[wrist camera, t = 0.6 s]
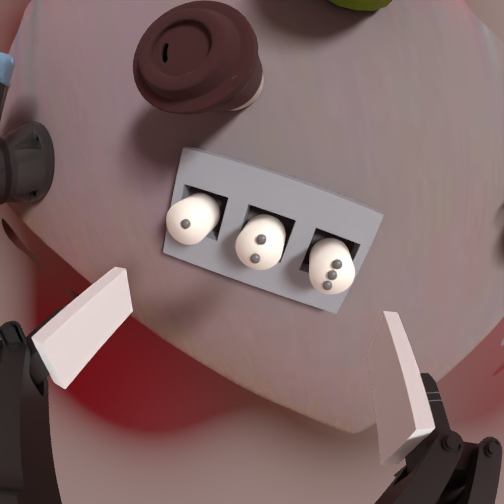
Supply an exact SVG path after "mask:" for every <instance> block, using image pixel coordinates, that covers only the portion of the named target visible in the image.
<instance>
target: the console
mask: <svg viewBox="0 0 504 504" xmlns="http://www.w3.org/2000/svg"><path fill="white" fill-rule="evenodd" d="M191 186H193V187H196V188H199V189H202V190H206V191H209V192H212V193H215V194H218V195H222V196H225V197H228V201H227V205H226V209H225V213H224V216H223V220H222V224H221V228H220V232H219V233H217V232H214V231H210V232H209V233H208V234H207V235H206V236H205V237H204V238H203V239H202V240H201V241H200V242H198V243H196V244H193V245H186V244H182V243H180V242H178V241H177V240H175V239H174V238H173V237H172V236H171V234H170V233H169V231H168V228H167V230H166V236H165V243H164V249H163V253H165V254H168V255H171V256H173V257H176V258H178V259H181V260H184V261H186V262H189V263H192V264H194V265H197V266H200V267H202V268H205V269H208V270H211V271H213V272H216V273H219V274H222V275H224V276H227V277H230V278H233V279H235V280H238V281H241V282H244V283H247V284H249V285H252V286H255V287H258V288H261V289H264V290H267V291H269V292H272V293H275V294H278V295H281V296H284V297H287V298H290V299H293V300H296V301H299V302H302V303H305V304H308V305H311V306H314V307H317V308H320V309H323V310H326V311H329V312H332V313H335V314H336V313H337V311H338V309H339V308H340V306H341V304H342V302H343V300H344V298H345V296H346V295H347V293H348V291H349V289H350V287H351V285H352V284H351V285H350V286H349V287H348V288H347V289H346V290H345V291H343V292H341V293H338V294H324V293H322V292H320V291H318V290H317V289H315V288H314V286H313V285H312V284H311V281H310V278H309V264H306V263H303V259H304V257H305V254H306V252H307V250H308V247H309V245H310V242H311V240H312V237H313V234H314V232H315V229H316V228H318V229H321V230H324V231H326V232H329V233H332V234H335V235H337V236H340V237H342V238H345V239H348V240H350V241H353V242H355V244H354V246H353V248H352V251H351V253H350V256H351V259H352V262H353V265H354V268H355V277H356V275H357V273H358V271H359V269H360V267H361V265H362V263H363V261H364V259H365V257H366V255H367V253H368V250H369V248H370V246H371V244H372V242H373V240H374V237H375V235H376V233H377V231H378V228H379V226H380V224H381V221H382V219H383V217H384V215H383V214H382V212H381V211H380V210H378V209H376V208H373V207H371V206H369V205H366V204H364V203H361V202H359V201H356V200H354V199H351V198H349V197H346V196H344V195H341V194H339V193H336V192H334V191H331V190H328V189H326V188H323V187H320V186H318V185H315V184H312V183H309V182H306V181H304V180H301V179H298V178H295V177H292V176H289V175H286V174H283V173H280V172H277V171H274V170H271V169H268V168H265V167H262V166H258V165H255V164H252V163H249V162H245V161H242V160H239V159H235V158H232V157H228V156H225V155H221V154H218V153H214V152H210V151H206V150H203V149H199V148H195V147H183V150H182V154H181V159H180V163H179V167H178V172H177V177H176V182H175V186H174V191H173V197H172V202H171V207H172V206H173V205H174V204H176V203H177V202H179V201H181V200H183V199H185V198H187V197H189V193H190V188H191ZM251 205H252V206H255V207H258V208H261V209H264V210H267V211H270V212H273V213H276V214H279V215H282V216H285V217H288V218H290V219H293V220H295V221H294V224H293V227H292V230H291V232H290V235H289V238H288V241H287V243H286V246H285V249H284V251H283V254H282V255H281V258H280V260H279V261H278V262H277V264H276V265H274V266H273V267H271V268H269V269H265V270H256V269H252V268H249V267H248V266H246V265H245V264H243V263H242V262H241V260H240V259H239V258H238V256H237V253H236V248H235V245H236V240H237V237H238V236H239V234H240V233H241V231H242V230H243V228H244V227H245V223H246V220H247V216H248V213H249V210H250V206H251ZM171 207H170V208H171ZM355 277H354V279H355ZM353 281H354V280H353ZM352 283H353V282H352Z"/></svg>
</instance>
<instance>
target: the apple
mask: <svg viewBox="0 0 504 504" xmlns="http://www.w3.org/2000/svg"><path fill="white" fill-rule="evenodd" d="M329 1H331V2H332V3H334V4H336V5H338V6H341V7H345V8H349V9H353V10H365V11H374V10H377V9H380V8H383V7H386V6H387V5H388V4H389V3H390V2H391V1H392V0H329Z"/></svg>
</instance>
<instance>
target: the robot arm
mask: <svg viewBox="0 0 504 504" xmlns="http://www.w3.org/2000/svg"><path fill="white" fill-rule="evenodd" d="M14 66H15V60H14V58H13V56H11V55H9V54H5V53H0V120H1V116H2V111H3V107H4V103H5V99H6V96H7V92H8V89H9V87H10V80H11V76H12V73H13V69H14ZM53 172H54V151H53V145H52V141H51V138H50V135H49V133H48V131H47V129H46V128H45V127H44V126H43V125H42V124H41V123H38V122H31V123H25V124H22V125H20V126H19V127H17V128H15V129H13V130H12V131H10V132H8V133H7V134H5V135H3V136H2V137H0V205H1V204H3V203H6V202H19V203H30V202H34V201H36V200H39V199H41V198H43V197H44V196H45V195H46V193H47V192H48V190H49V188H50V185H51V182H52V178H53ZM132 312H133V309H132V303H131V298H130V292H129V285H128V279H127V272H126V269H124V268H119V267H114V268H113V269H111V270H110V271H109V272H108V273H106V274H105V275H104V276H103V277H101V278H100V279H99V280H98V281H96V282H95V283H94V284H93V285H91V286H90V287H89V288H88V289H86V290H85V291H84V292H83V293H82V294H80V295H79V296H78V297H77V298H76V299H74V300H73V301H72V302H71V303H70V304H68V305H67V306H64V307H62V308H60V309H58V310H56V311H55V312H54V313H53V314H52V315H51V316H50V317H48V318H47V319H46V320H45V322H43V323H41V324H40V325H39V326H38V327H37V328H36V329H35V330H33V331H32V332H31V333H30V334H29V335H28V336H27V337H25V335H24V333H23V331H22V328H21V326H20V324H19V323H18V322H16V321H9V322H6V323H5V324H3V325H2V326H1V327H0V338H1V340H0V504H62V502H61V498H60V493H59V489H58V484H57V480H56V474H55V468H54V462H53V454H52V447H51V436H50V424H49V406H48V405H49V402H48V380H47V378H46V377H47V376H48V375H49V374H50V376H51V377H52V379H53V381H54V383H56V384H57V385H59V386H61V387H62V388H64V389H66V388H67V387H68V385H69V384H70V383H71V382H72V381H73V379H74V378H75V377H76V376H77V375H78V373H79V372H80V371H81V370H82V368H83V367H84V366H85V365H86V364H87V363H88V361H89V360H90V359H91V358H92V357H93V356H94V354H95V353H96V352H97V351H98V350H99V348H101V346H102V345H103V344H104V343H105V342H106V340H107V339H108V338H109V337H110V336H111V335H112V334H113V333H114V332H115V330H116V329H117V328H118V327H119V326H120V325H121V324H122V323H123V322H124V320H125V319H126V318H127V317H128V316H129V315H130V314H131V313H132ZM366 354H367V359H368V365H369V371H370V377H371V383H372V390H373V397H374V404H375V412H376V420H377V429H378V439H379V451H380V465H393V464H399V463H400V462H401V461H402V460H403V459H404V458H405V459H406V466H404V467H403V468H402V469H401V470H400V471H398V472H397V473H396V474H395V475H394V476H395V477H396V476H397V477H396V478H395V480H394V481H393V482H392V483H391V484H390V486H389V487H388V488H387V489H386V491H385V492H384V493H383V494H382V496H381V497H380V498H379V499H378V500H377V501H376V502H375V504H494V503H495V498H496V494H497V488H498V483H499V476H500V469H501V459H502V447H501V444H500V442H499V441H498V440H497V439H496V438H494V437H486V438H485V439H483V440H482V441H481V442H480V443H479V444H475V443H468V442H463V440H462V438H461V436H460V435H459V434H458V433H456V432H454V431H452V430H451V429H450V427H449V423H448V419H447V416H446V413H445V410H444V406H443V403H442V401H441V397H440V394H439V391H438V388H437V385H436V382H435V381H434V379H433V378H432V377H431V376H430V374H429V373H419V369H418V366H417V364H416V361H415V358H414V355H413V352H412V349H411V346H410V344H409V341H408V338H407V336H406V333H405V331H404V328H403V325H402V323H401V320H400V318H399V315H398V313H397V312H389V311H383V313H382V316H381V319H380V321H379V324H378V326H377V329H376V331H375V334H374V336H373V339H372V341H371V344H370V346H369V348H368V351H367V353H366Z"/></svg>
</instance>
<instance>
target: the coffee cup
mask: <svg viewBox="0 0 504 504" xmlns="http://www.w3.org/2000/svg"><path fill="white" fill-rule="evenodd" d="M133 74H134V79H135V83H136V85H137V88H138V90H139V91H140V93H141V95H142V96H143V97H144V98H145V99H146V100H147V101H148V102H149V103H150V104H151V105H153V106H154V107H156V108H158V109H160V110H163V111H166V112H171V113H177V114H198V113H203V112H207V111H217V112H222V111H234V110H239V109H243V108H245V107H247V106H249V105H250V104H252V103H253V102H254V101H255V100H256V99H257V98H258V96H259V95H260V93H261V91H262V88H263V84H264V77H263V71H262V65H261V62H260V59H259V56H258V43H257V39H256V35H255V33H254V31H253V29H252V27H251V25H250V23H249V22H248V21H247V19H246V18H245V17H244V16H243V15H242V14H241V13H240V12H239V11H238V10H236V9H235V8H233V7H231V6H229V5H227V4H224V3H220V2H216V1H194V2H189V3H185V4H182V5H180V6H177V7H175V8H173V9H171V10H169V11H168V12H166V13H164V14H163V15H162V16H160V17H159V18H158V19H157V20H155V21H154V22H153V23H152V24H151V25H150V26H149V28H148V29H147V30H146V32H145V33H144V35H143V36H142V38H141V40H140V42H139V44H138V46H137V49H136V52H135V55H134V60H133Z"/></svg>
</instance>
